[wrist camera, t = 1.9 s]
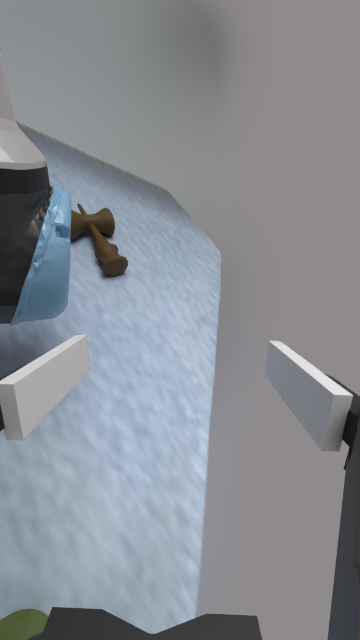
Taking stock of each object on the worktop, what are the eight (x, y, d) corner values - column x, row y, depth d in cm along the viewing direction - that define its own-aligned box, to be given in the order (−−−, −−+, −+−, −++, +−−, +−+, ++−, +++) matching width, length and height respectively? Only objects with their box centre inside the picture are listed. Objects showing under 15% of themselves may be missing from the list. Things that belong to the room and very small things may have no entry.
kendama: (91, 284, 40) (55, 216, 46) (136, 275, 46) (98, 215, 51) (92, 261, 35) (52, 189, 41) (142, 254, 41) (100, 191, 47)
